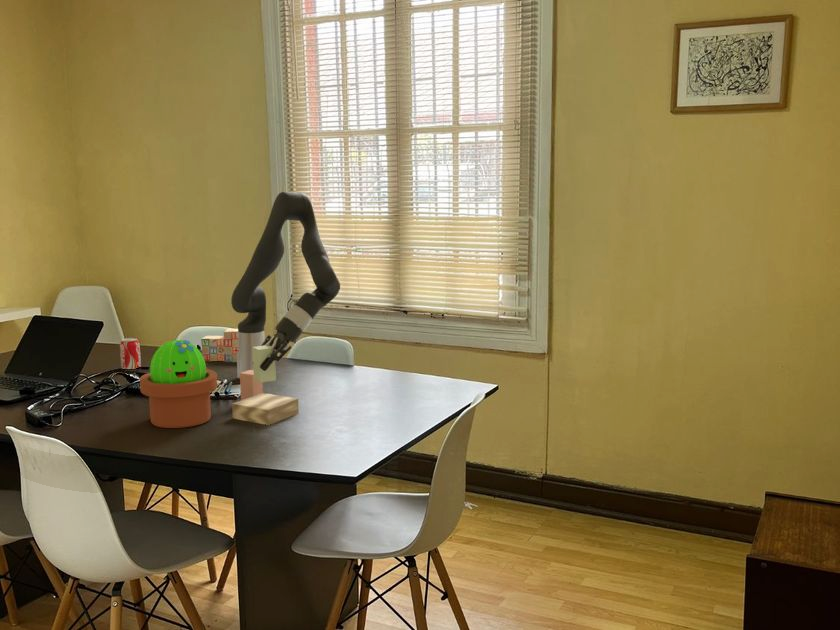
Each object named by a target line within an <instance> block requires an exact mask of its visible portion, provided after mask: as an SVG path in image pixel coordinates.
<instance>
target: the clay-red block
mask: <svg viewBox="0 0 840 630" xmlns="http://www.w3.org/2000/svg"><path fill="white" fill-rule="evenodd" d="M239 381H240V382H239V384H240V401H241V400H244V399H247V398H249V397H252V396H255V395H258V394H261V393H264V387H263V385H264V382H262V383H260V382H258V381H256V380H254V370H248V371H245V372H242V373H240V378H239Z"/></svg>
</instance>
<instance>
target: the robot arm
mask: <svg viewBox="0 0 840 630" xmlns="http://www.w3.org/2000/svg"><path fill="white" fill-rule="evenodd" d="M286 221H296V222H297V221H299V222H300V224H301V225H302V227H303V235H302V239H301V244H300V245H301V247H300V248H301V253H302V256H303V258H304V260H305V263H306V265H307V267H308V270H309V272H310V275H311V279H312V281H313V283H314V285H315V289H314V290H313V291H312V292H305V293H303V294H302V295H301V296H300V298H298V300H297V301H296V302H295V303H294V305H293V306H292V307H291V308H290V309H289V310H288V311H287V312H286V313H285V314H284V315H283V317H282V318H281V319H280V320H279V322H278V323H277V324H276V325H275V330H276V333H275V334H274V335H272V336H271V335H270V334H269V335H267V336H266V338H265V325H266V322H267V316H266V315H267V297H266V293H265V290H264V288H263V287H262V286H260V284H261V283H262V282H264V281H265V280H266V279H267V278H269V276H271V275H272V274H273V273H274V272H275V271H276V269H277V268H278V267H279V265H280V263H281V261H282V259H283V256H284V254H285V245H284V243H285V242H284V240H283V236H282V229H283V226H284V224H285V222H286ZM321 239H322V238H321V236H320V233H319V228H318V224H317V220H316V216H315V212H314V207H313V204H312V200H311V199H310V197H309V196H308V194H306V193H304V192H298V191H281V192H279V193H278V194H277V196H276V197H275V200H274V202H273V205H272V208H271V210H270V214H269V217H268V219H267V222H266V225H265V228H264V230H263V232H262V235H261V237H260V239H259V241H258V243H257V245H256V247H255V250H254V252H253V254H252V256H251V259H250V261H249V263H248V265H247V267H246V269H245V271H244V273H243V275H242V276H241V278H240V280H239V282H238V284H236V286H235V288H234V290H233V292H232V295H231V302H230V303H231V307H232V309H233V310H234V312H236V313H238V314H247V315H246V317H245V318H244V319H243V320H241V321H239V322H238V324H237V329H238V342H239V352H237V362H236V368H237V371H236V374H237V379H240V373H242V372H245V371H248V370H254V367H253V347H257V346H272V347H271V348H272V349H271V352H270V353H269V355H268V357H267V358H266V359H265V360H264V361H263V363H262V364H261V365H260V368H261V369H262V370H264V371H266V370H267V368H268V367H269V366H270V365H271V364H272V362H275V363H276V362H279V361H280V360H281V359H282V358H283V357H284V356H285V355H286V354H287V353H288V352H290V350H291V349H292V346H291V345H290V343H293V344H294V343H296V342H297V340H298V339H299V338H300V336H301V335H302V334H303V333H304V331H305V330H306V329H307V328H308V326H309V325H310V324H311V322H312V321H313V320H314V318H315V317H316V315H317V314H319V312H320V310H321V309H323V308H324V307H325V306H327V305H328V304H329V303H330V302H332V301H333V300H334V299H335V298H336V296H338V294H339V292H340V290H341V282H340V281H339V278H338V277H337V275H336V273H335V271H334V269H333V267H332V264H331V262H330V258H329V257H328V256H329V255H328V254H327V253H328V252H327V251H326V250H325V247H324V244H323V242H322V240H321Z"/></svg>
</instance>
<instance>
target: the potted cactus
mask: <svg viewBox="0 0 840 630" xmlns="http://www.w3.org/2000/svg"><path fill="white" fill-rule="evenodd" d="M162 343H163V344H161V345H160V346H159V347H158V348H157V350H156V351H155V352H154V355H152V358H151V360H150V367H149V372H147V373H144V374H143V375H141V376H140V378H139V387H140V393H141V394H142V395H144V396H146V397H148V398H149V399H148V401H149V402H148V403H149V416H150V422H151V424H152V425H153V426H155V427H158V428H163V429H181V428H182V429H183V428H188V427H189V428H190V427H195V426H199V425H202V424H205V423H207V422H208V421H209V420H210V419H211V415H212V414H211V396H210V395H211V393H210V392H213V391H215V390H216V388H218V374H217V372H216V371H215V370H212V369H209V368H208V367H207V366H206V365H209V364H208V363H207V362H206V361H205V360H204V358H203V356H202V349H201V350H200V349H198V347H197V346H196V345H194V344H193V343H191V342H190V341H189V340H187V339H181V338H180V339H176V338H174V339H171V340H170V341H168V340H167V341H166V342H162Z"/></svg>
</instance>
